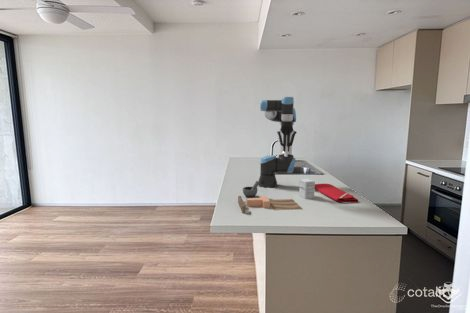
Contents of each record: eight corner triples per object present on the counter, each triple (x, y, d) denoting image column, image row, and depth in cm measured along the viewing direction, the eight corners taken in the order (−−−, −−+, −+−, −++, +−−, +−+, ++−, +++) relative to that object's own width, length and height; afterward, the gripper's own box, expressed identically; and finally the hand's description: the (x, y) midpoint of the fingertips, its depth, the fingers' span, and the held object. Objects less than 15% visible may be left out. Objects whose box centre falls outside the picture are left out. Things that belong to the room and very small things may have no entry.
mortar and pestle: (242, 200, 191) (242, 182, 189) (242, 196, 200) (242, 179, 198) (259, 200, 190) (259, 182, 188) (259, 196, 199) (259, 179, 197)
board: (238, 202, 186) (238, 195, 185) (292, 200, 190) (292, 194, 189) (242, 213, 166) (242, 205, 166) (302, 211, 170) (303, 203, 170)
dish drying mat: (329, 186, 228) (330, 182, 227) (359, 202, 188) (359, 197, 187) (310, 187, 226) (310, 182, 225) (336, 203, 186) (336, 198, 185)
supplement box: (298, 197, 197) (299, 179, 195) (307, 196, 200) (308, 178, 198) (304, 200, 190) (305, 181, 188) (314, 199, 193) (315, 180, 191)
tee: (245, 202, 182) (245, 196, 181) (265, 202, 183) (266, 196, 183) (248, 208, 171) (248, 201, 170) (270, 207, 172) (270, 201, 172)
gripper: (278, 121, 186) (277, 157, 190) (298, 121, 188) (297, 157, 192) (275, 120, 194) (275, 155, 198) (295, 120, 195) (293, 155, 199)
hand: (285, 156), depth 195 cm, fingers closed
